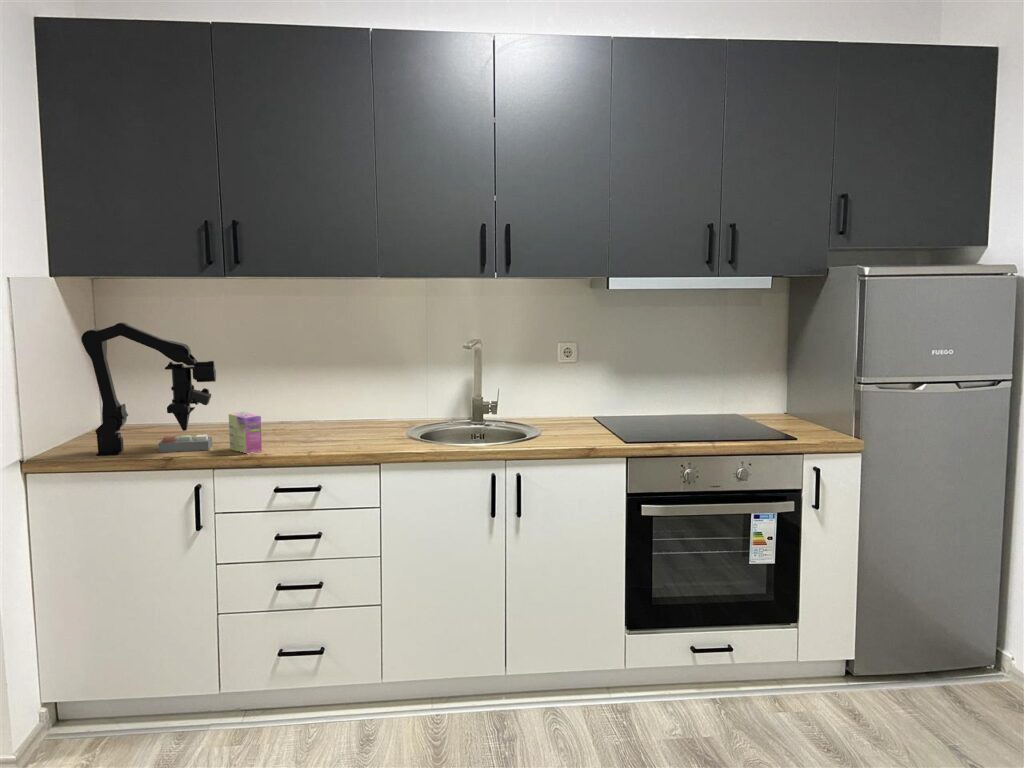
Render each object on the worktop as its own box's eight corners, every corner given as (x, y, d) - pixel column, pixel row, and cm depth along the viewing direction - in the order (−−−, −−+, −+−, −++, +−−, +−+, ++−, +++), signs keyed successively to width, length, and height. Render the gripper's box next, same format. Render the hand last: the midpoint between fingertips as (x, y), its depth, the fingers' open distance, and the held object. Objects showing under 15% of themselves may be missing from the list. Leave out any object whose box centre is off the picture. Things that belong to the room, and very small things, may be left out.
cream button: (195, 442, 255) (195, 436, 254) (197, 440, 258) (197, 434, 257) (206, 442, 255) (206, 436, 255) (208, 440, 258) (207, 434, 258)
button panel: (158, 452, 251) (158, 443, 250) (164, 447, 258) (163, 438, 257) (208, 450, 254) (207, 441, 253) (212, 445, 261) (211, 436, 260)
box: (262, 451, 252) (261, 415, 250) (246, 454, 248) (244, 417, 246) (245, 447, 259) (244, 411, 257) (229, 449, 255) (227, 413, 253)
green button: (179, 443, 254) (179, 437, 253) (181, 441, 257) (181, 435, 256) (190, 443, 254) (189, 437, 254) (192, 441, 257) (191, 435, 257)
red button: (163, 444, 253) (162, 438, 252) (165, 442, 256) (164, 436, 255) (173, 443, 253) (173, 437, 253) (175, 441, 256) (175, 435, 256)
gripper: (203, 386, 245) (205, 435, 247) (213, 378, 263) (215, 424, 266) (165, 387, 243) (168, 436, 245) (178, 379, 261) (180, 425, 263)
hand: (184, 430), depth 255 cm, fingers closed
